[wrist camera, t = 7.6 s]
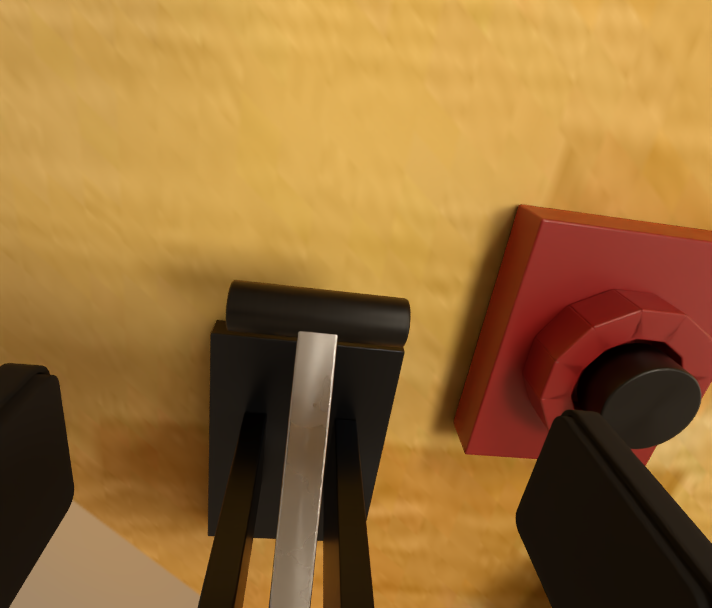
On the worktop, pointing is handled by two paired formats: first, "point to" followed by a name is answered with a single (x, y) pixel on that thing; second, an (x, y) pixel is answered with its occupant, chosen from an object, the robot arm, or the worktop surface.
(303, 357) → the lever
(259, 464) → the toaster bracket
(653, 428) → the stop button
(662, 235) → the block
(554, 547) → the robot arm
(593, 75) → the worktop surface
